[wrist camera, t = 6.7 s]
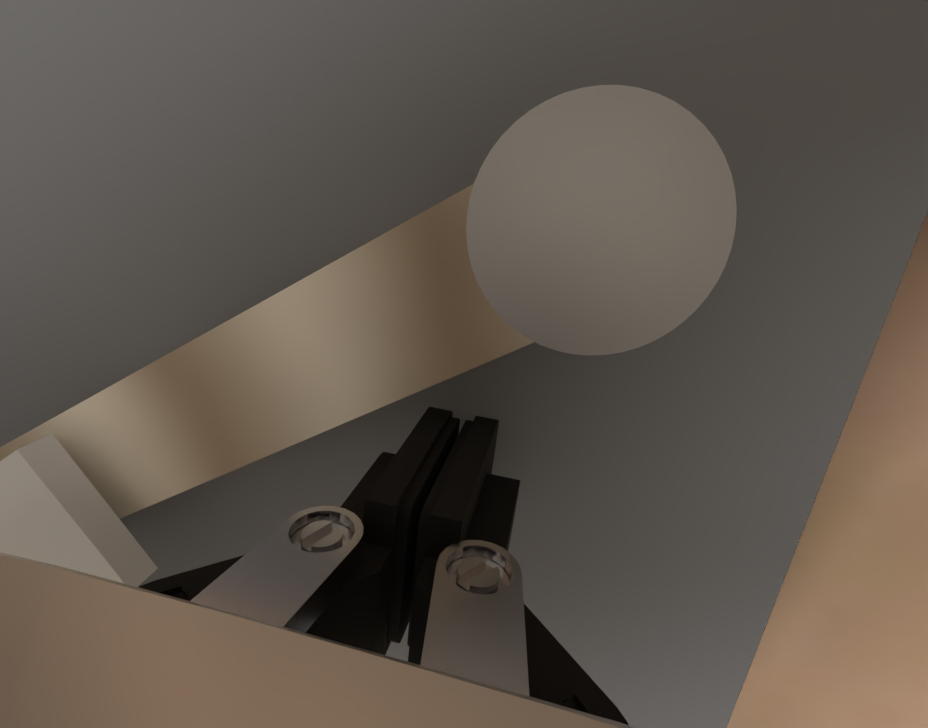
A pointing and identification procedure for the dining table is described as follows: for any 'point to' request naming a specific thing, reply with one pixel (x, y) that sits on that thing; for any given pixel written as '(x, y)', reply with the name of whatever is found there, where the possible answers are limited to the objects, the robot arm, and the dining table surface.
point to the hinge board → (402, 128)
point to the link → (291, 366)
